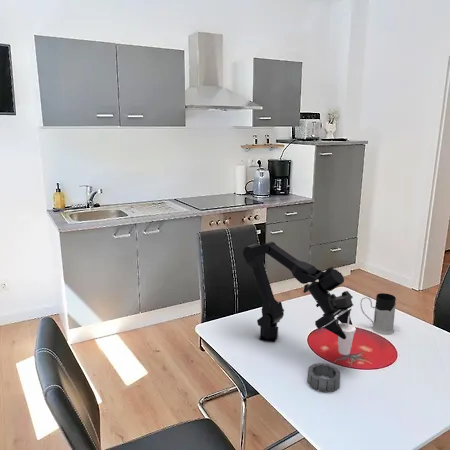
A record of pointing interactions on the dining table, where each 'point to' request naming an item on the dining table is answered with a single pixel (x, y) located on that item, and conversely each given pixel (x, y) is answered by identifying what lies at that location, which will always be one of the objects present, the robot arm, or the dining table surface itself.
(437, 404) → the dining table surface
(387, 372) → the dining table surface
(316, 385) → the stone ring
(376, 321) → the grey mug
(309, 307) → the dining table surface
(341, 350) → the smoothie
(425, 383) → the dining table surface
